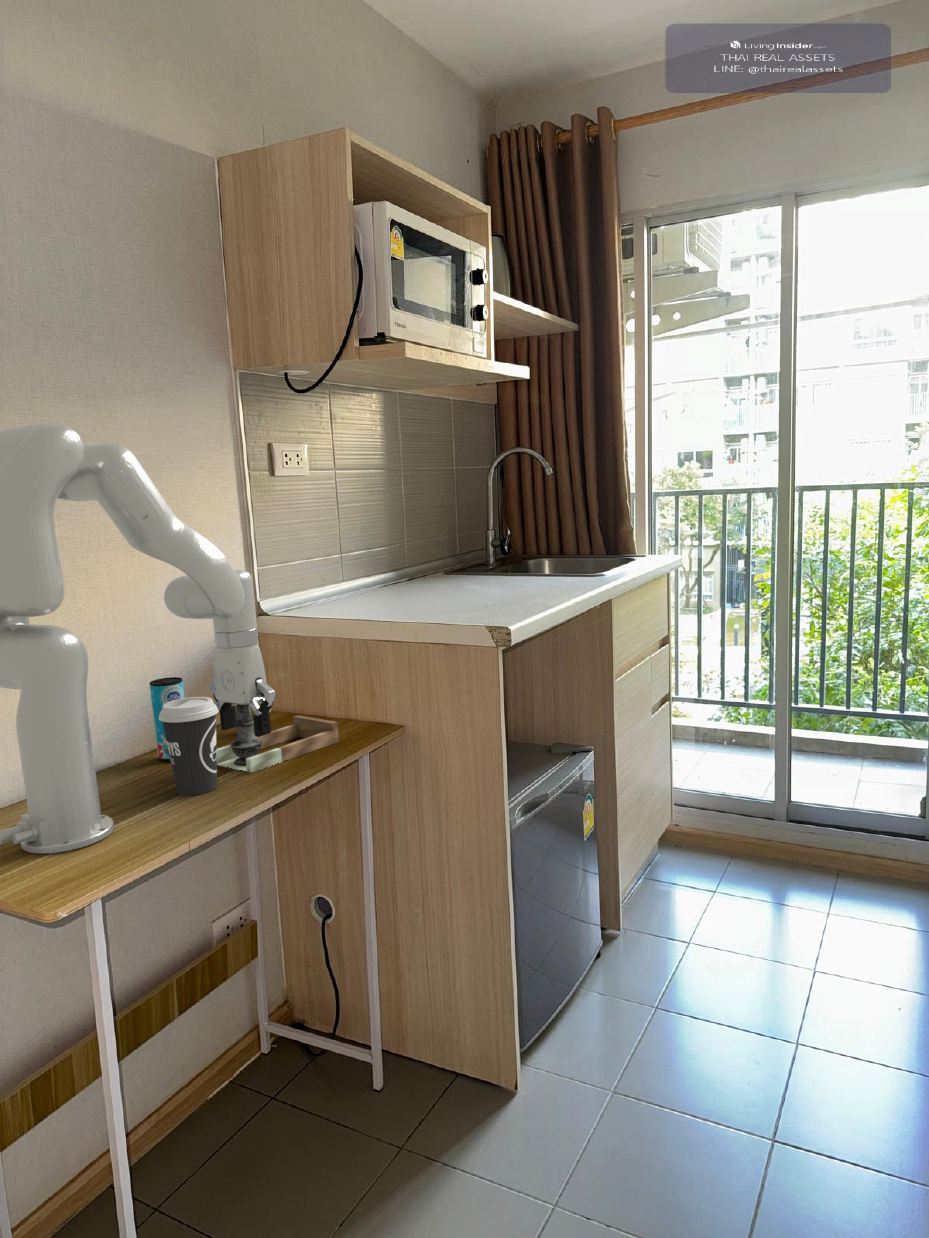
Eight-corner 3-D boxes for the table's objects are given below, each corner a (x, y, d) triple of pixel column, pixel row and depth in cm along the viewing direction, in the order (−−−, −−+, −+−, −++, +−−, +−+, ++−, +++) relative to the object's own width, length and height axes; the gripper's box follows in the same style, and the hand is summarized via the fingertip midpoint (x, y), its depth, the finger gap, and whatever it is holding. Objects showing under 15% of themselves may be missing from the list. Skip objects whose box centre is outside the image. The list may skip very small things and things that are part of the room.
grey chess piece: (268, 755, 163) (262, 693, 162) (258, 766, 158) (251, 701, 156) (238, 756, 164) (231, 694, 162) (226, 766, 158) (220, 702, 156)
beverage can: (166, 764, 163) (156, 685, 161) (153, 758, 167) (144, 681, 165) (196, 756, 167) (187, 679, 164) (183, 750, 171) (174, 675, 169)
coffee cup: (199, 776, 154) (190, 693, 152) (238, 783, 149) (229, 697, 147) (155, 794, 146) (144, 707, 144) (195, 802, 141) (184, 711, 139)
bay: (251, 773, 154) (249, 751, 154) (212, 763, 161) (209, 742, 161) (338, 741, 171) (337, 721, 170) (299, 734, 178) (297, 715, 177)
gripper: (190, 640, 160) (200, 731, 162) (250, 646, 149) (260, 743, 152) (224, 633, 166) (233, 721, 168) (284, 638, 155) (293, 732, 158)
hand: (246, 731), depth 160 cm, fingers open, 9 cm apart
